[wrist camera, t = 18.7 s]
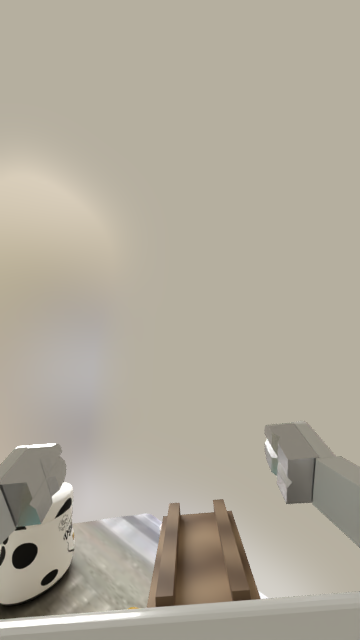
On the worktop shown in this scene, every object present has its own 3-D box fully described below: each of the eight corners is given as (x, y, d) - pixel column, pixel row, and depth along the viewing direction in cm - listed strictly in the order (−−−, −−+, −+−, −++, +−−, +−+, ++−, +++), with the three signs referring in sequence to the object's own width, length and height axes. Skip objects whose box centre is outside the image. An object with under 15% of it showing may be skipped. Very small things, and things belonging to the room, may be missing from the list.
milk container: (88, 561, 57) (90, 483, 62) (18, 631, 42) (28, 520, 47) (46, 547, 64) (51, 478, 69) (-28, 602, 49) (-15, 508, 54)
